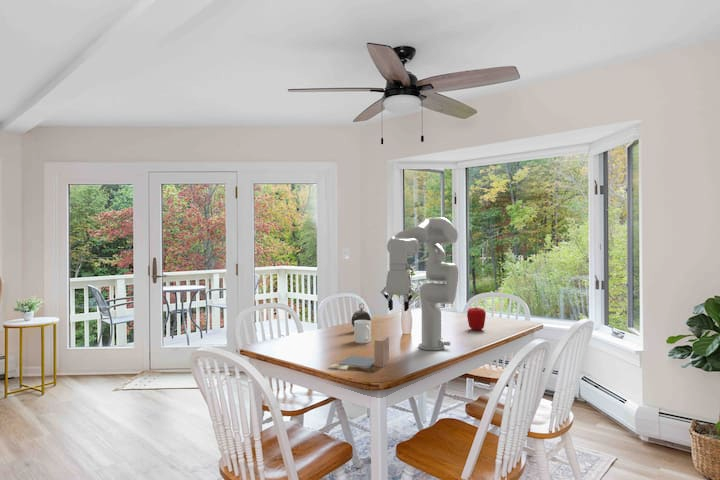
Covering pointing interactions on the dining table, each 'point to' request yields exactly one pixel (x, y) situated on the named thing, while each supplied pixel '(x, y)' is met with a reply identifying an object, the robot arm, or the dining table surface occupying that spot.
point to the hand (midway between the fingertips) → (398, 310)
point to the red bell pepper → (476, 318)
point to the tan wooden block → (381, 351)
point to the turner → (350, 367)
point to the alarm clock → (360, 315)
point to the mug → (362, 331)
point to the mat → (358, 361)
